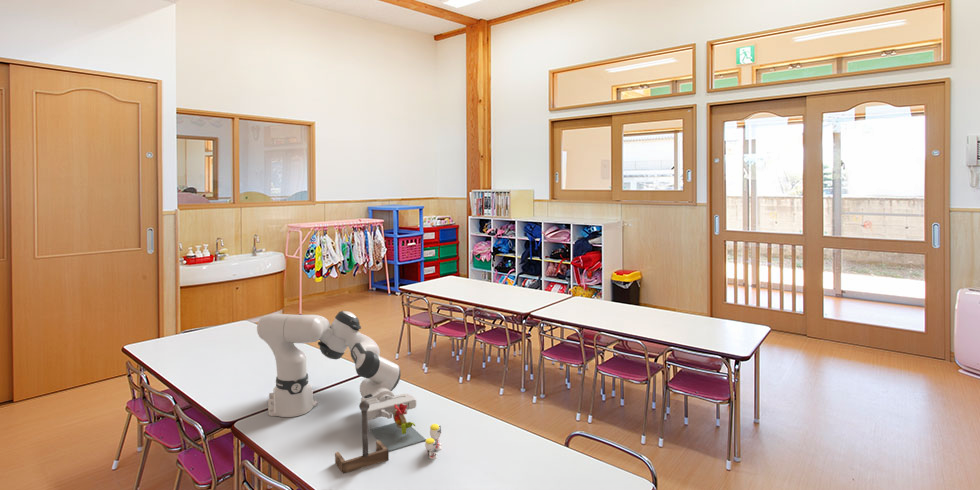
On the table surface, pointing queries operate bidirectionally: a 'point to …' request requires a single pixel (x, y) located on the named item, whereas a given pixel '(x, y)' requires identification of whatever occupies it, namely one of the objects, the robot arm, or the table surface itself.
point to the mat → (396, 436)
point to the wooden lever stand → (367, 458)
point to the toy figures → (433, 441)
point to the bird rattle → (401, 418)
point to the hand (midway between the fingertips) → (397, 414)
